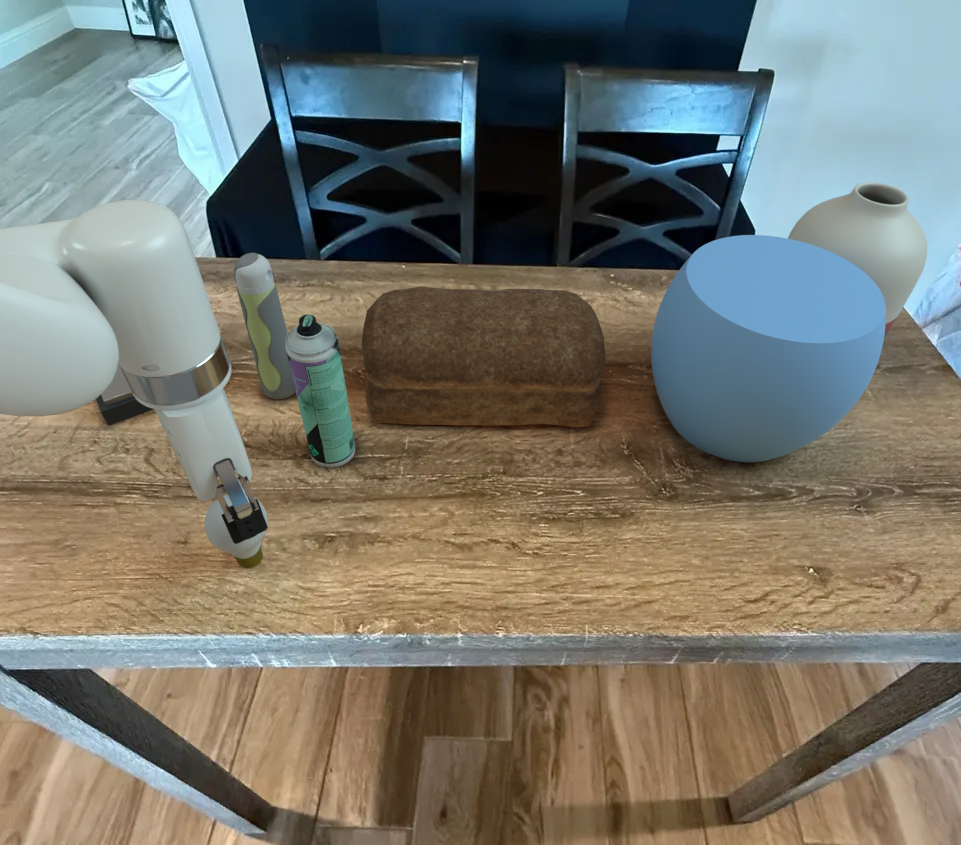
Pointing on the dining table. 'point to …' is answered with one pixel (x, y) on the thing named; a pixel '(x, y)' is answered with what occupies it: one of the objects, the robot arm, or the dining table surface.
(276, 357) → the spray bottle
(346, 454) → the spray can
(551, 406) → the bread
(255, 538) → the light bulb
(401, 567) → the dining table surface
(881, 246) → the vase
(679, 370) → the blue rounded pouf
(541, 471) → the dining table surface
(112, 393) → the scale
